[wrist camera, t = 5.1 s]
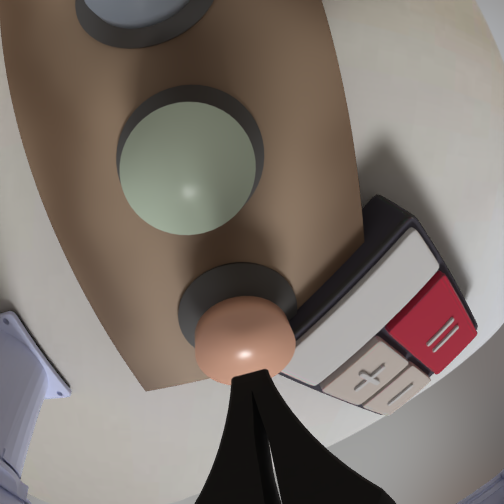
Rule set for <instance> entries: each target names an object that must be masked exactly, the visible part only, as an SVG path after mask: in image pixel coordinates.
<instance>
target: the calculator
mask: <svg viewBox="0 0 504 504" xmlns="http://www.w3.org/2000/svg"><path fill="white" fill-rule="evenodd" d="M362 218H363V230H364V243H363V244H362V245H361V246H360V247H359V248H358V249H357V250H356V251H355V252H354V253H353V254H352V255H351V257H350V258H349V259H348V260H347V261H346V262H345V263H344V264H343V265H342V266H341V267H340V268H339V269H338V270H337V271H336V272H335V273H334V274H333V275H332V276H331V277H330V278H329V279H328V280H327V281H326V282H325V283H324V284H323V285H322V286H321V287H320V288H319V289H318V290H317V291H316V292H315V293H314V294H313V295H312V296H311V297H310V298H309V299H308V300H307V301H306V302H305V303H304V304H303V305H302V306H301V307H300V308H299V309H298V310H297V314H296V315H295V316H294V317H293V318H292V319H291V320H290V321H289V324H290V326H291V329H292V331H293V333H294V336H295V341H296V347H295V352H294V355H293V357H292V359H291V361H290V362H289V364H288V365H287V366H286V367H285V368H284V369H283V370H282V371H281V372H279V373H278V374H280V375H282V376H284V377H286V378H289V379H291V380H293V381H296V382H298V383H300V384H303V385H305V386H307V387H310V388H312V389H314V390H317V391H319V392H322V393H324V394H327V395H329V396H332V397H334V398H337V399H339V400H342V401H345V402H347V403H350V404H352V405H355V406H358V407H361V408H363V409H366V410H369V411H372V412H374V413H377V414H380V415H385V416H389V415H391V414H392V413H393V412H394V411H396V410H397V409H398V408H400V407H401V406H402V405H403V404H405V403H406V402H407V401H408V400H410V399H411V398H412V397H413V396H414V395H415V394H417V393H418V392H419V391H420V390H421V389H422V388H424V387H425V386H426V385H427V384H428V383H429V382H430V381H431V379H430V378H429V377H430V376H431V375H432V374H434V373H435V374H439V373H440V372H441V371H442V370H443V369H444V368H445V367H446V366H447V365H448V364H449V363H450V362H451V361H452V360H453V359H454V358H455V357H456V356H457V355H458V354H459V353H460V352H461V351H462V350H463V349H464V348H465V347H466V346H467V345H468V344H469V343H470V342H471V341H472V340H473V339H474V338H475V336H476V335H477V331H476V330H477V327H478V325H477V323H476V321H475V319H474V317H473V314H472V312H471V310H470V308H469V306H468V305H467V303H466V301H465V299H464V297H463V295H462V293H461V291H460V289H459V287H458V286H457V284H456V282H455V280H454V278H453V277H452V275H451V273H450V271H449V269H448V268H447V266H446V264H445V263H444V261H443V259H442V258H441V256H440V254H439V253H438V251H437V249H436V248H435V246H434V244H433V243H432V241H431V240H430V238H429V236H428V235H427V233H426V232H425V230H424V229H423V227H422V226H421V224H420V222H419V221H418V220H417V218H416V217H415V216H414V215H412V214H411V213H409V212H408V211H406V210H404V209H403V208H401V207H400V206H398V205H396V204H395V203H393V202H391V201H390V200H388V199H386V198H385V197H383V196H381V195H376V196H374V197H373V198H372V199H371V200H370V201H369V202H368V203H367V204H366V206H365V207H364V208H363V209H362Z"/></svg>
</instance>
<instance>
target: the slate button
mask: <svg viewBox="0 0 504 504" xmlns="http://www.w3.org/2000/svg"><path fill="white" fill-rule="evenodd" d="M84 1H85V3H86V4H87V6H88V7H89V8H90V9H91V10H92V11H93V12H94V13H95V14H96V15H97V16H98V17H100V18H101V19H102V20H103V21H105V22H106V23H108V24H110V25H112V26H116V27H120V28H128V29H134V28H143V27H148V26H152V25H155V24H158V23H160V22H162V21H165V20H167V19H168V18H170V17H172V16H173V15H175V14H176V13H178V12H179V11H180V10H181V9H182V8H183V7H185V5H186V4H187V3H188V2H189V1H190V0H84Z"/></svg>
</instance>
